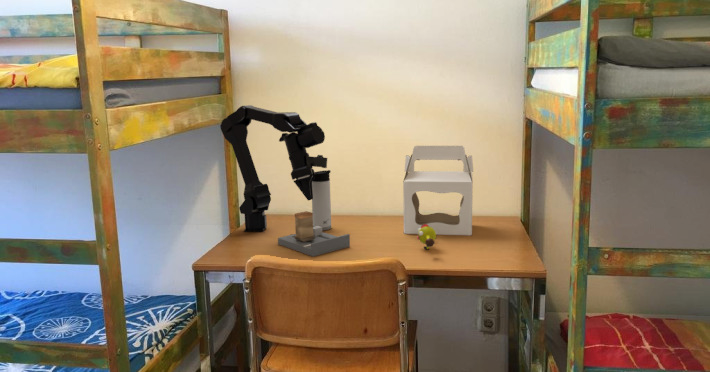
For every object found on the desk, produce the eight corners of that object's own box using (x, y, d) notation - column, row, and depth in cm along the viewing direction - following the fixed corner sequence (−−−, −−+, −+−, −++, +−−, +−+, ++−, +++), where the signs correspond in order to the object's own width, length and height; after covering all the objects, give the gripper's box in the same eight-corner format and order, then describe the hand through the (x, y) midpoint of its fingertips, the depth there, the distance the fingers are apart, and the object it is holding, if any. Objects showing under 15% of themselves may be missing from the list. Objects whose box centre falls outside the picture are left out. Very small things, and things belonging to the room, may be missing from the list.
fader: (293, 238, 182) (292, 213, 180) (305, 235, 185) (304, 210, 183) (303, 241, 178) (302, 215, 176) (315, 238, 181) (314, 213, 179)
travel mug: (329, 231, 199) (327, 172, 195) (310, 230, 200) (308, 171, 196) (334, 226, 205) (332, 169, 201) (315, 225, 206) (313, 168, 202)
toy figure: (415, 240, 185) (415, 219, 184) (432, 240, 185) (432, 219, 184) (419, 258, 168) (419, 235, 166) (439, 257, 167) (439, 234, 166)
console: (278, 244, 185) (277, 230, 184) (313, 235, 194) (313, 222, 193) (313, 256, 171) (312, 241, 171) (349, 246, 180) (349, 232, 180)
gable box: (472, 225, 202) (473, 143, 197) (472, 235, 189) (473, 148, 184) (407, 223, 206) (406, 143, 201) (402, 233, 193) (402, 148, 188)
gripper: (320, 142, 177) (334, 193, 177) (323, 146, 195) (335, 192, 195) (284, 152, 177) (298, 203, 177) (290, 155, 195) (303, 201, 195)
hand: (310, 199), depth 186 cm, fingers open, 9 cm apart
